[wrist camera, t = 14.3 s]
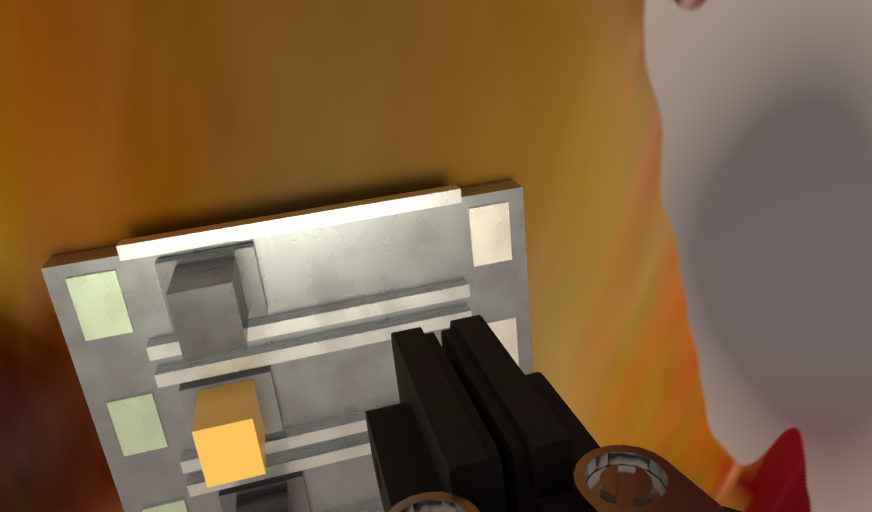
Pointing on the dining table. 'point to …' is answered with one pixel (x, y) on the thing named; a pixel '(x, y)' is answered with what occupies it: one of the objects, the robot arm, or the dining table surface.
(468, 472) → the robot arm
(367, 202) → the breaker board
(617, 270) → the dining table surface
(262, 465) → the block
